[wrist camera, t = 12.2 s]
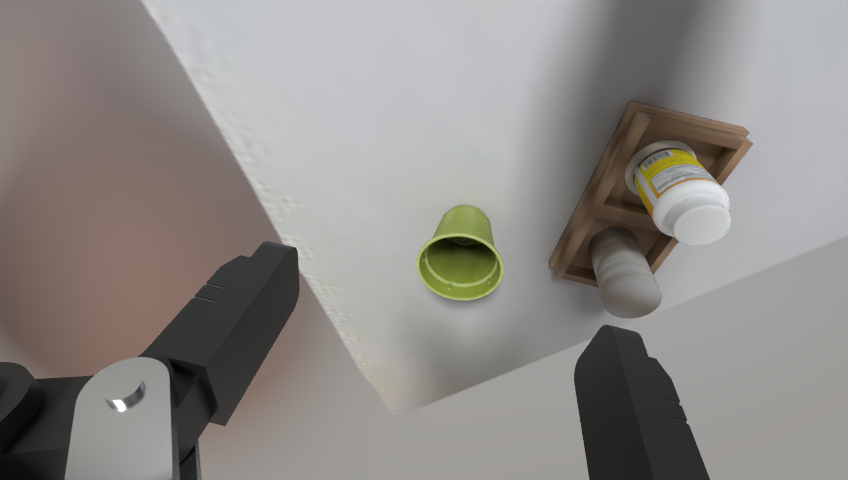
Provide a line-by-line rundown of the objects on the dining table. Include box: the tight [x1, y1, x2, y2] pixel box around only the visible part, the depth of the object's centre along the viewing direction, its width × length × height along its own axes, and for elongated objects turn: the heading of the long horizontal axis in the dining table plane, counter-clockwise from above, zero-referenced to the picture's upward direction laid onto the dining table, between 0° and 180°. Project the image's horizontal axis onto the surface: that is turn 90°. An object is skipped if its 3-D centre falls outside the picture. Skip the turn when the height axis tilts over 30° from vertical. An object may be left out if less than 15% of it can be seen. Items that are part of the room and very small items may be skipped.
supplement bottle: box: [633, 147, 731, 246], centre depth 34 cm, size 6×6×10 cm
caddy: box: [549, 101, 753, 318], centre depth 39 cm, size 21×11×10 cm, turn 170°
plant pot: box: [416, 205, 504, 301], centre depth 45 cm, size 9×9×9 cm
